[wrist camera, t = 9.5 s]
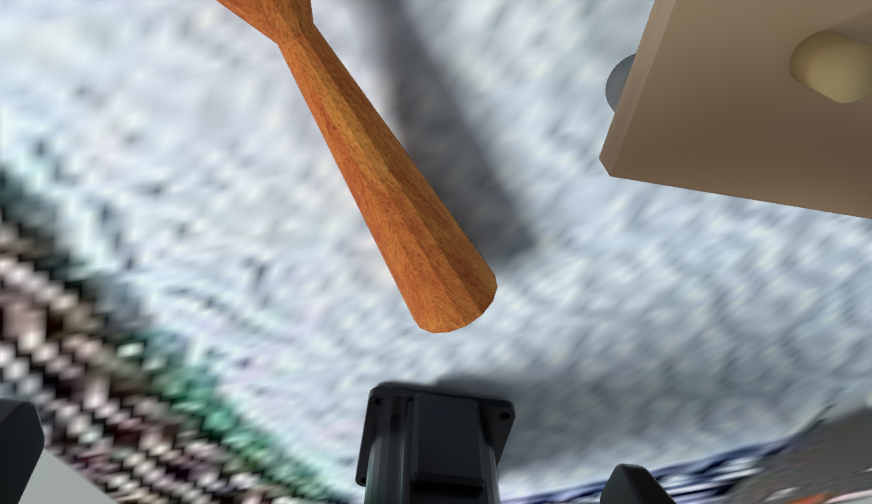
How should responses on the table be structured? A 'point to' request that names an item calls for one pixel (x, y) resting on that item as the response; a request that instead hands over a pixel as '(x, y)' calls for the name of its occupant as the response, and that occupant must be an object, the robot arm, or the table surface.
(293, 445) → the table surface
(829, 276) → the table surface
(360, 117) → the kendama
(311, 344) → the table surface
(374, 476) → the robot arm
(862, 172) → the peg board
